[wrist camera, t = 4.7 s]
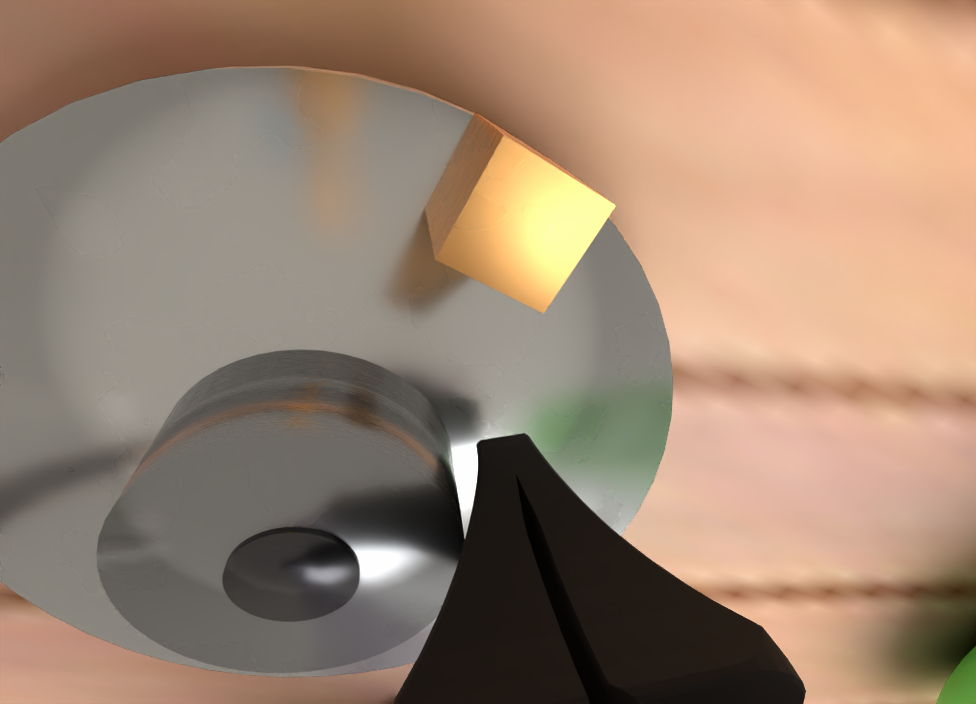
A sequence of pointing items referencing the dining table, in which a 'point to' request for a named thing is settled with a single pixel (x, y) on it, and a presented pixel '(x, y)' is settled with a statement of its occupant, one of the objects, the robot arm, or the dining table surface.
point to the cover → (287, 517)
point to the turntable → (300, 297)
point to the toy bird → (961, 682)
